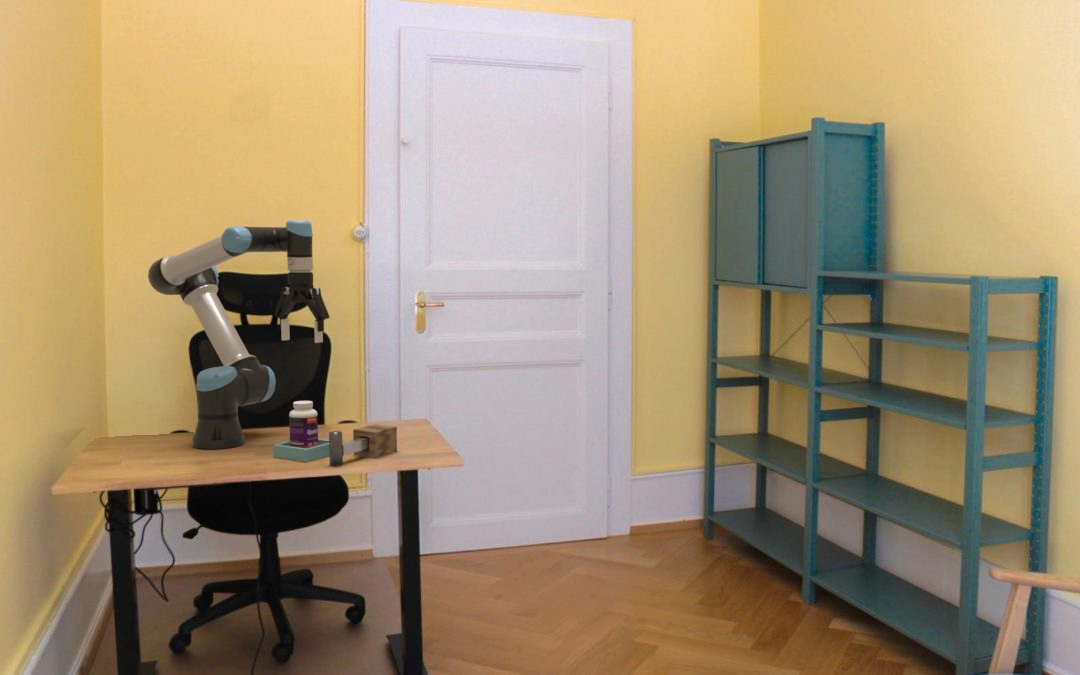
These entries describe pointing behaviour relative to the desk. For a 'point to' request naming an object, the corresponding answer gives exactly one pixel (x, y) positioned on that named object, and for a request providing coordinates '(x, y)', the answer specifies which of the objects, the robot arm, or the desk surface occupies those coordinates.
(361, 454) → the mount
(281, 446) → the tray
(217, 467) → the desk surface
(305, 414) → the pill bottle
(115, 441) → the desk surface
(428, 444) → the desk surface
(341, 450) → the grey t-shaped piece
